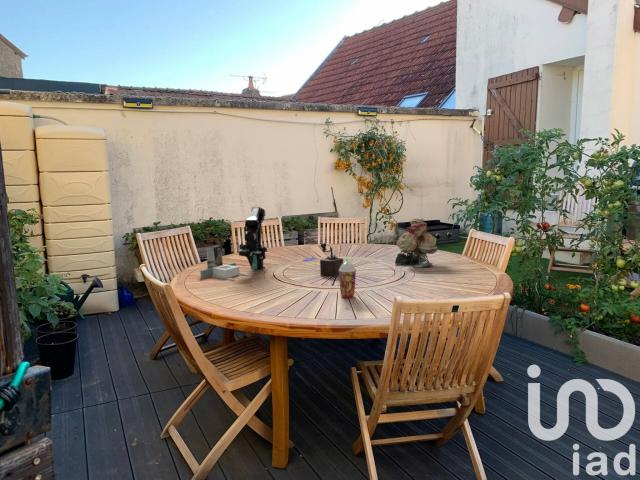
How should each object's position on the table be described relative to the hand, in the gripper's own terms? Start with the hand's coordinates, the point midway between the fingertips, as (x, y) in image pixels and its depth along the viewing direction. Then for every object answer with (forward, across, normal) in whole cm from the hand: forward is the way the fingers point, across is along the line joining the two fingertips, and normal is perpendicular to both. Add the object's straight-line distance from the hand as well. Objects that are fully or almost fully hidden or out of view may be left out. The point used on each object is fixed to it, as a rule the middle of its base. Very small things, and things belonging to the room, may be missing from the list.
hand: (253, 265), depth 266 cm
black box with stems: (+6, -25, +38) cm, 46 cm away
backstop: (+6, +12, -9) cm, 16 cm away
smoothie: (+6, +10, +74) cm, 75 cm away
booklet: (+6, -54, +12) cm, 56 cm away
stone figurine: (+6, -79, +71) cm, 106 cm away
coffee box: (+6, +7, -27) cm, 29 cm away
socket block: (+5, +12, -12) cm, 18 cm away
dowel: (+2, 0, 0) cm, 2 cm away
